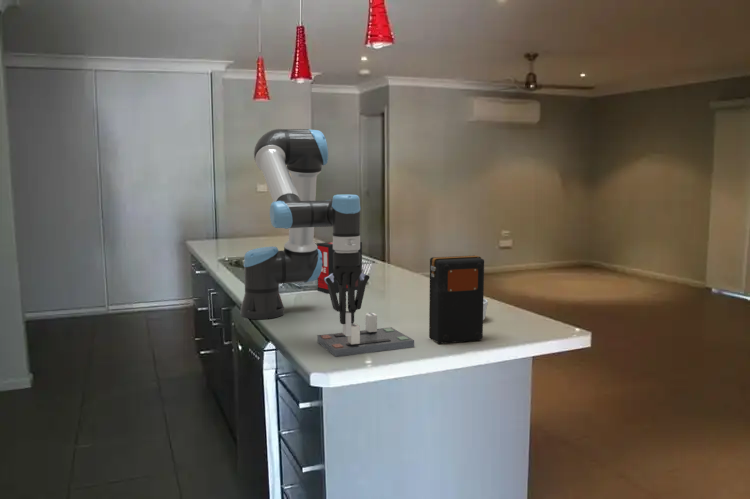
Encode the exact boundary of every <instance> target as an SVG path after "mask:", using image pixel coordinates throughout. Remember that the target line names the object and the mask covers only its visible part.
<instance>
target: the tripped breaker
mask: <svg viewBox="0 0 750 499" xmlns="http://www.w3.org/2000/svg"><path fill="white" fill-rule="evenodd" d="M360 331H361V327H360V325H359V324H357V323H351V336H348V342H349V343H350V344H359V343H360Z"/></svg>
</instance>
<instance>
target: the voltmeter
mask: <svg viewBox="0 0 750 499" xmlns="http://www.w3.org/2000/svg"><path fill="white" fill-rule="evenodd" d="M484 281H485V259H483V258H482V257H481V256H479V255H475V254H473V255H458V256H457V255H456V256H437V257H435V256H433V257H430V259H429V307H428V308H429V312H428V313H429V314H428V315H429V316H428V318H429V319H428V320H429V321H428V322H429V323H428V324H429V326H428V328H429V329H428V330H429V331H428V333H429V334H428V337H429V339H430V340H433V341H435V342H437V343H438V344H447V343H459V342H467V341H468V342H471V341H481V340H482V339H483V337H484V336H483V334H484V330H483V329H484V327H483V326H484V320H483V298H484V290H485V288H484V287H485V286H484V285H485V282H484Z"/></svg>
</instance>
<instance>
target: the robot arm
mask: <svg viewBox="0 0 750 499" xmlns="http://www.w3.org/2000/svg"><path fill="white" fill-rule="evenodd" d="M253 158H254V162H255V164H256V166H257V168H258V169H259V170H260V171H261V172H262V175H263V177H264V181H265V183H266V186H267V188H268V192H269V194H270V197H271V199H272V202H271V204H270V206H269V220H270V223H271V226H272V227H274V229H286V230H287V229H288V240H287V241H286V242H285V243H284V244H283V245H284V246H283V249H282V250H279V247H276V246H263V247H262V246H261V247H258V248H254V249H250V250H248V251H247V252H245V254H244V256H243V258H244V259H243V268H244V269H243V270H244V272H243V273H244V296H243V299H242V303H241V305H240V309H239V310H240V312H239V313H240V317H242V318H245V319H251V320H266V319H267V320H269V319H275V318H280V317H282V316H284V315H285V306H284V303H283V300H282V298H281V294H280V289H279V288H280V286H279V285H281V284H284V285H285V284H298V283H300V284H301V283H305V284H306V283H308V282H315V281H317V280H318V277H319V275H320V273H321V269H322V253H321V251H320V250H319V249H317V243H316V242H315V241H314V237H315V236H314V234H315V228H325V227H326V228H327V227H330V228H331V227H332V242H333V250H335V252H334V253H333V269H332V272H331V273H332V274H330V275H329V276H328V277H324V281H325V282H326V284H327V286H328V290H329V298H330V301H331V305H332V309H333V311H336V312H339V323H340V324H341V325H342V333H343V334H344V335H345V336H351V323H353V324H355V323H354V322H355V313H356V312H357V311H358V310H360V309H361V308H362V305H363V300H364V295H365V290H366V286H367V283H368V281H369V280H370V275H368V274H366V273H364V272H363V269H362V270H361V268H360V252H359V251H358V250H360V242H361V199H360V196H359V195H357V194H334V195H333V197H332V199H330V198H329V199H327V200H325V199H324V200H320V199H319V200H316V197H317V195H316V194H317V177H318V176H319V174H320V173H322V167H323V166H326V165H327V164H328V161H329V148H328V143H327V139H326V137H325V135H324V132H322V131H321V130H318V129H310V128H307V129H306V128H302V129H301V128H286V129H285V128H276V129H272V130H269V131H267V132H265V133H264V134H263V135H262V136H260V138H259V139H258V140H257V142H256V144H255V146H254V151H253ZM359 276H360V277H359ZM334 278H335V279H336V281H337V282H338V286H339V293H338V295H337V293H336V291H335V287H334V284H333V282H334ZM358 278H359V279H360V281H359V284H358V289H357V290H355V282H356V281H357V279H358ZM347 287H348V291H347V292H346V288H347ZM355 291H356V293H355ZM268 318H269V319H268Z"/></svg>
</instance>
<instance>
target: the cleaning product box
mask: <svg viewBox="0 0 750 499" xmlns="http://www.w3.org/2000/svg"><path fill="white" fill-rule="evenodd" d="M316 245H317V249H319V250H320V251H321V253H322V269H321V273H320V275H319V277H318V278H317V291H318V292H322V293H325V294H327V295H328V294H329V290H328V286H327V284H326V282H325V281H324V277H328V276H329V275H330V274H332V273H331V272H332V269H333V253H334V252H335V250H333V241H328V242H317V243H316ZM358 251H359V252H360V268H361V270H362V271H363V242H362V241H360V250H358ZM359 277H360V276H359ZM359 281H360V279H359V278H358V279H357V281H356V282H355V291H357V289H358V284H359ZM333 284H334V287H335V291H336V294H339V286H338V282H337V281H336V279H335V278H334V282H333ZM346 293H348V287H347V288H346ZM329 295H330V294H329Z"/></svg>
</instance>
